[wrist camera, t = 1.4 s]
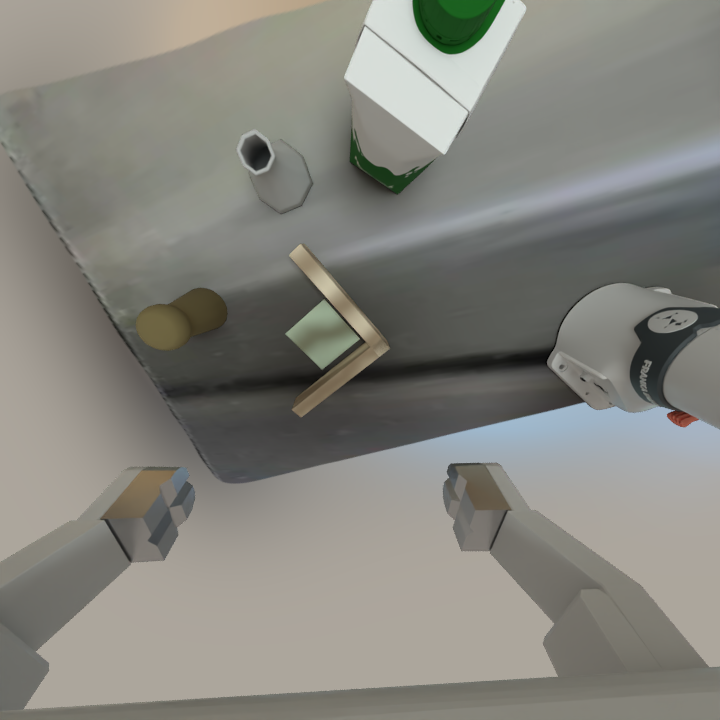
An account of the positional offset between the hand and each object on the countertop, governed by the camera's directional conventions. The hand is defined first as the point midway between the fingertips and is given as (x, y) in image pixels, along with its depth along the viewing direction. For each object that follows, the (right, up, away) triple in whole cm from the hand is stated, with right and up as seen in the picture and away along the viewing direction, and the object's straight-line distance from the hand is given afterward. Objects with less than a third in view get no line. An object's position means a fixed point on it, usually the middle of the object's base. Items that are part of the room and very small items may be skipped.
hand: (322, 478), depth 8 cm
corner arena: (-7, +8, +32) cm, 34 cm away
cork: (-21, +11, +30) cm, 38 cm away
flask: (-8, +26, +24) cm, 36 cm away
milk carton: (+5, +29, +23) cm, 38 cm away
